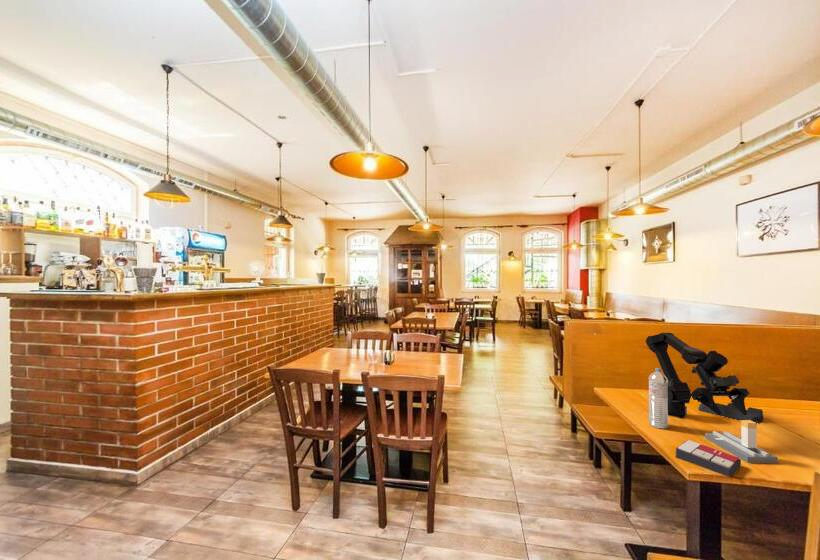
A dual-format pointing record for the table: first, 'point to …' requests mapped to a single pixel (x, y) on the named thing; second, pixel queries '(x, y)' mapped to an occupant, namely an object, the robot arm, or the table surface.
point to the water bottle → (658, 400)
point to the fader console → (740, 448)
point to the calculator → (708, 458)
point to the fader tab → (749, 434)
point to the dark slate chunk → (735, 412)
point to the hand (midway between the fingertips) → (733, 415)
